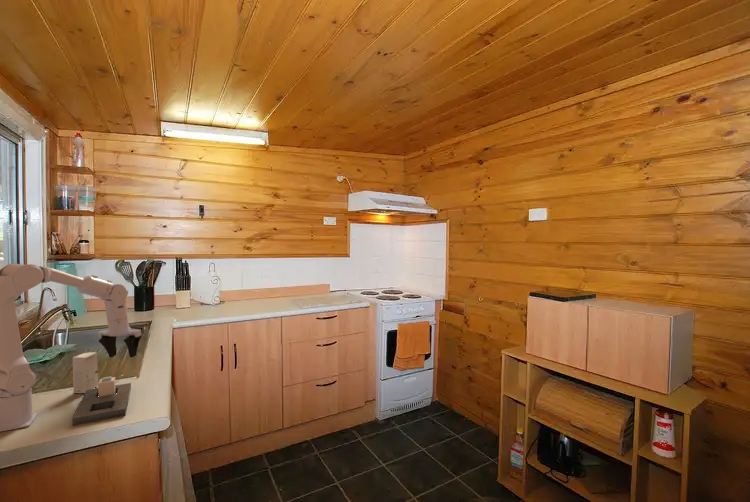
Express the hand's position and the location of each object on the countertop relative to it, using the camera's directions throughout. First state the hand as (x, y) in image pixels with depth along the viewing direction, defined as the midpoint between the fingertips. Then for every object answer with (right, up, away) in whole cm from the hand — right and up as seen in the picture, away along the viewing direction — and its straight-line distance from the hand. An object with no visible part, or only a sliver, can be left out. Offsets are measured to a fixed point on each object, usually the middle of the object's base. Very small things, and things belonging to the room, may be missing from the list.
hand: (123, 356), depth 127 cm
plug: (+1, -11, -10) cm, 14 cm away
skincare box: (-10, -11, -3) cm, 15 cm away
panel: (+4, -11, -14) cm, 19 cm away
